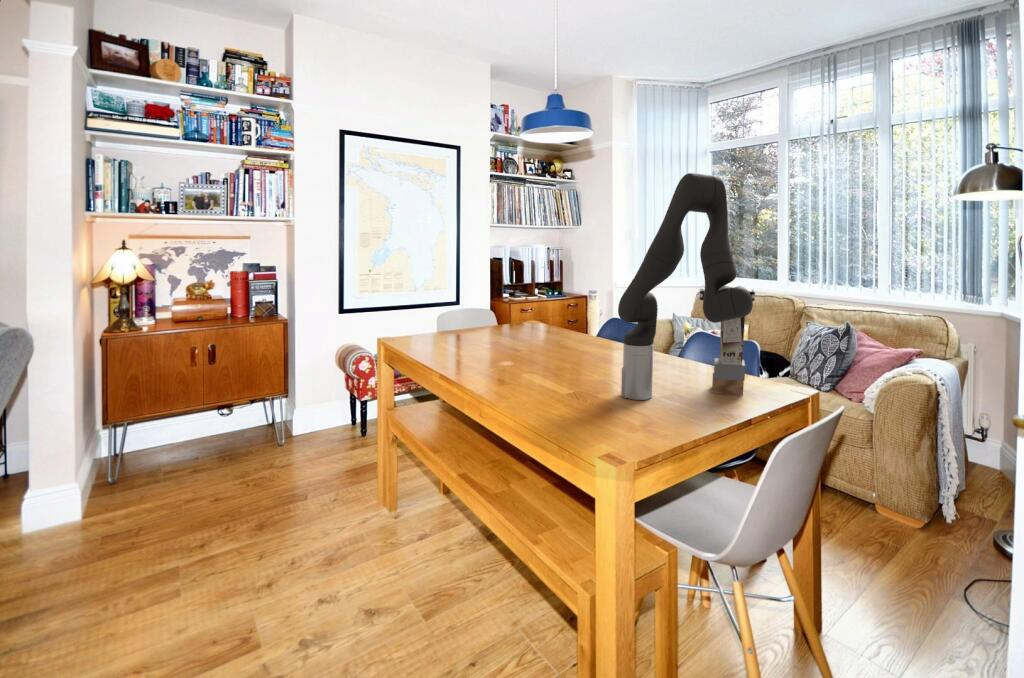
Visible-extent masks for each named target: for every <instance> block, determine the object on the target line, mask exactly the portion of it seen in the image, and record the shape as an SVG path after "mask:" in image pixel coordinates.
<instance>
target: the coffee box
mask: <svg viewBox="0 0 1024 678" xmlns="http://www.w3.org/2000/svg"><path fill="white" fill-rule="evenodd" d="M745 321H746V316H745V317H741V318H736V319H732V320H727V321H722V322H720V332H719V333H720V334H719V335H720V337H719V355H718V356H719V358H718V359H720V362H721V364H725V365H742V360H743V356H744V355H743V354H744V342H745V341H744V340H745V339H744V338H745Z"/></svg>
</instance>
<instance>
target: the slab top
mask: <svg viewBox="0 0 1024 678" xmlns="http://www.w3.org/2000/svg"><path fill="white" fill-rule="evenodd" d="M713 363H714V365H713V373H714V379H722V380H738V381H744V382H745V379H746V376H745V375H746V374H745V373H746V363H745V360H744V359H742V365H725V364H721V362H720V359H719V358H716V357H715V358H714V362H713Z"/></svg>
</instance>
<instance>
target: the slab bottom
mask: <svg viewBox="0 0 1024 678" xmlns="http://www.w3.org/2000/svg"><path fill="white" fill-rule="evenodd" d="M744 382H745V380H744V381H738V380H722V379H714V372H713V373H712V381H711V383H712V387H711V388H712V394H716V395H727V394H728V395H729V396H741V395H742V396H743V394H744Z"/></svg>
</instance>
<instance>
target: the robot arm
mask: <svg viewBox="0 0 1024 678" xmlns="http://www.w3.org/2000/svg"><path fill="white" fill-rule="evenodd" d="M727 196H728V195H727V189H726V184H725V182H724V180H723V179H722V178H721V177H719V176H718V175H717V176H716V175H711V174H701V173H695V172H693V173H692V172H691V173H690V172H689V173H685V174H684V175H683V176H682V178H681V179H679V182H678V184H677V185H676V187H675V190H674V193H673V195H672V198H671V199H670V202H669V205H668V208H667V209H666V210H667V211H666V212H665V215H664V218H663V220H662V222H661V224H660V227H659V229H658V230H657V233H656V235H655V237H654V239H653V240H652V241H651V243H650V245H649V247H648V249H647V252H646V253H645V256H644V258H643V260H642V262H641V264H640V267H639V268H638V270H637V272H636V274H635V275H634V277H633V279H632V280H631V282H630V283H629V285H628V287H627V288H626V290H624V292H623V294H622V296H621V298H620V300H619V303H618V307H617V314H618V317H619V319H620V320H621V321H622V322H624V323H629V324H631V323H633V324H634V323H637V324H636V325H635V327H634V328H633V329H631V330H629V331H628V332H626V333H625V334H623V347H622V348H623V355H622V356H623V357H622V358H623V359H622V361H623V362H622V368H621V381H620V382H621V385H620V386H621V389H620V390H621V392H620V394H621V395H620V396H621V398H624V399H627V398H628V399H629V400H635V401H647V400H650V399H652V397H653V381H654V380H653V378H654V377H653V376H654V372H653V371H654V342H655V341H654V340H655V337H656V335H657V321H658V309H659V308H658V300H657V297H656V296H655V295H654V294H653V292H651V291H652V290H653V289H655V288H657V287H658V286H659V285H660V284H661V283H663V282H665V281H666V280H667V279H668V278H669V277H671V276H672V274H673V273H674V272H675V271H676V269H677V268H678V265H679V263H680V262H681V260H682V258H683V256H684V254H685V244H684V243H685V242H684V237H683V231H682V225H683V222H684V220H685V218H686V216H687V215H688V213H690V212H694V213H703V214H706V215H707V218H708V224H709V227H708V230H707V233H706V235H705V237H704V239H703V240H702V244H701V247H700V253H699V255H700V256H699V257H700V262H701V266H702V272H703V276H704V289H703V288H701V289H699V297H698V299H699V300H700V301H702V313H703V315H704V317H705V319H707V320H708V322H711V323H713V324H715V323H717V324H718V323H721V322H722V321H727V320H732V319H736V318H741V317H745V318H746V317H747V316H749V315H750V314H751V312H752V309H753V306H754V305H753V304H754V303H753V302H755V300H756V289H750V290H749V289H747V288H746V287H745V286H741V285H737V284H735V283H733V282H734V280H736V278H737V270H736V269H737V268H736V265H735V262H734V256H733V252H732V247H731V244H730V234H729V214H728V198H727Z"/></svg>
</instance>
